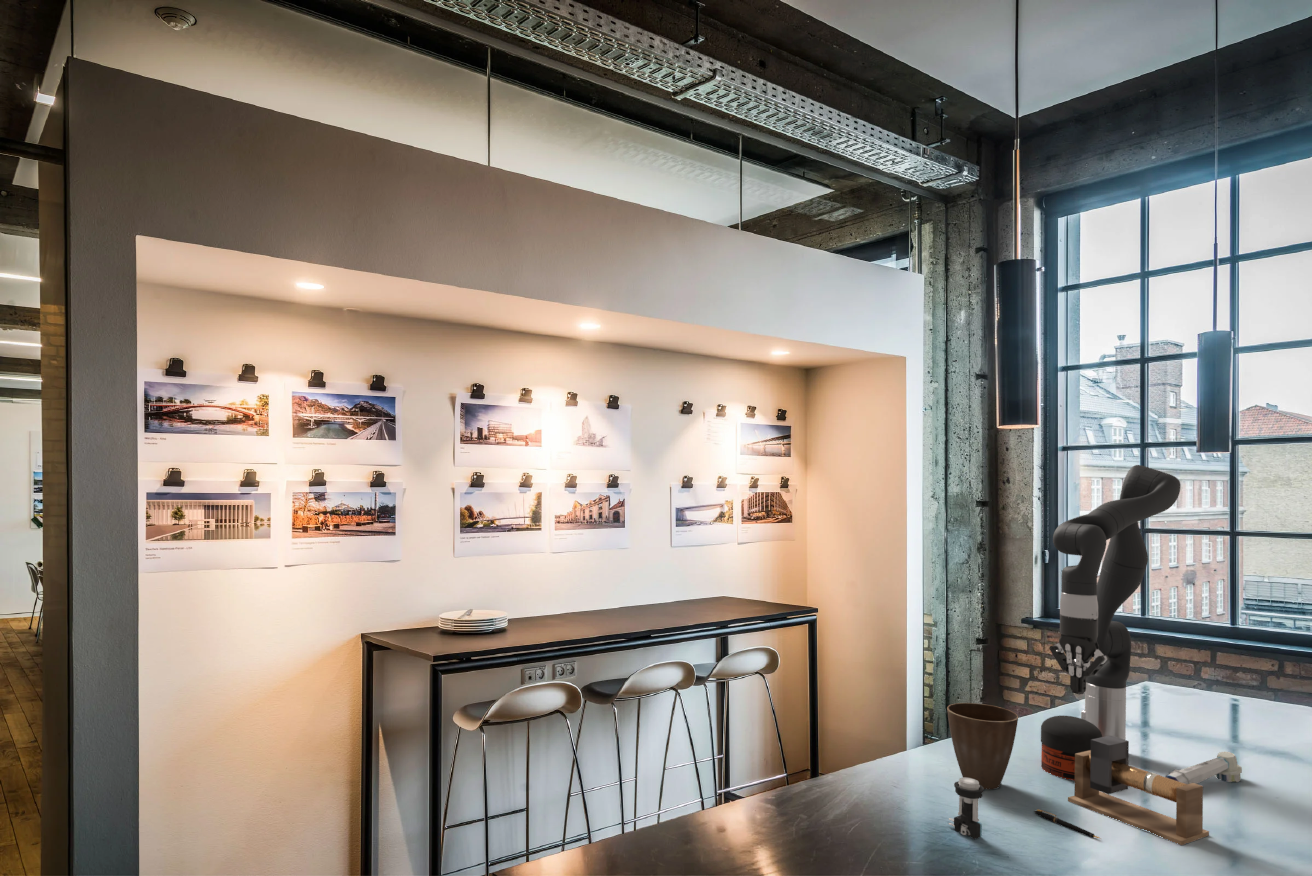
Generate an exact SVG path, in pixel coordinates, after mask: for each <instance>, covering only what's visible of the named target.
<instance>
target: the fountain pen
mask: <svg viewBox="0 0 1312 876" xmlns="http://www.w3.org/2000/svg"><path fill="white" fill-rule="evenodd" d="M1033 812H1034V814H1036V816H1038V817H1040V818H1043V819H1044V820H1046V821H1047V820H1048V821H1050V822H1052V823H1054V824H1056V825H1059V826H1061V825H1062V826H1061V827H1064V828H1067V829H1069V830H1071V831H1074V832H1076V833H1079V834H1081V835H1084V836H1088V837H1090V838H1092V839H1093V838H1095V839H1101V840H1102V838H1100V837H1099V836H1097V835H1095V833H1093V832H1091V831H1089V830H1087V829H1084V828H1082V827H1080V826H1077V825H1075V824H1073V823H1070V822H1069V821H1066V820H1063V819H1061V818H1059V817H1057V815H1056V814H1055V813H1054V814H1053V813H1051V812H1047V811H1045V810H1043V809H1042V810H1041V809H1039V808H1038V809H1036V810H1033Z"/></svg>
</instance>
